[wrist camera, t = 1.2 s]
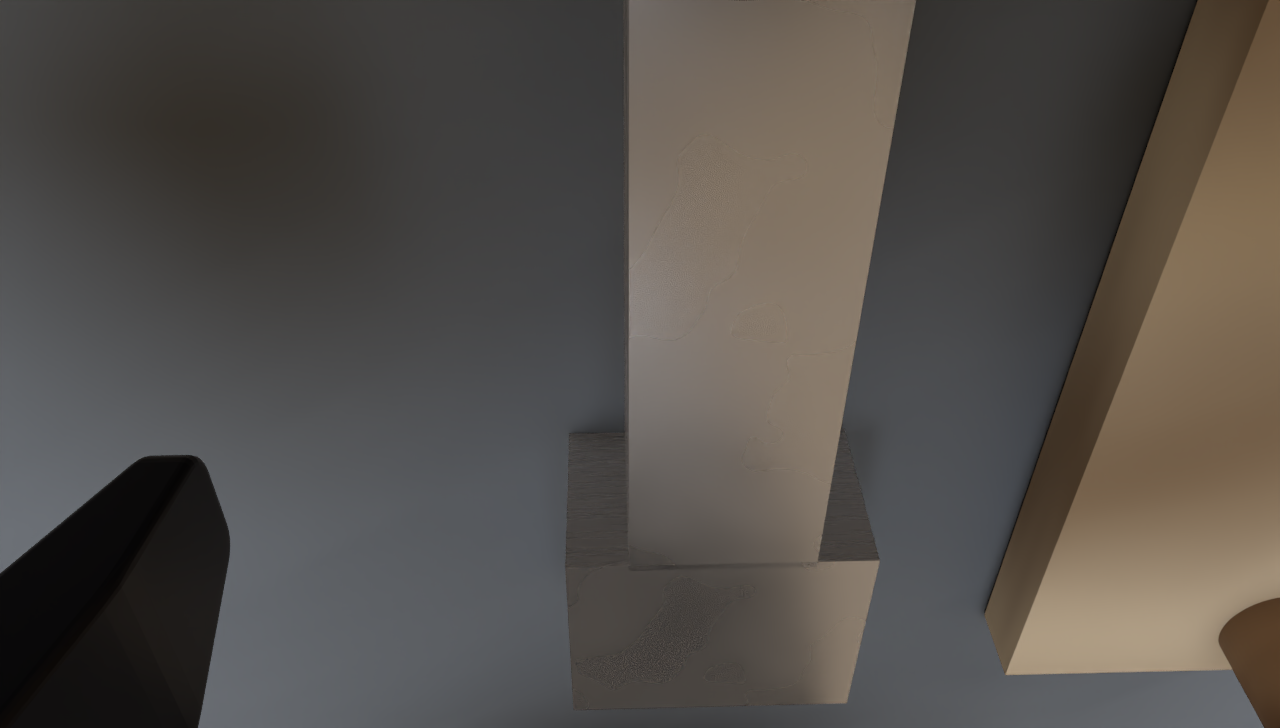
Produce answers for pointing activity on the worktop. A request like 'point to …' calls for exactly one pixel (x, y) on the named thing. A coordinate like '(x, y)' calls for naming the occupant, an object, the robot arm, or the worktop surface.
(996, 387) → the worktop surface
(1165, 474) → the peg board
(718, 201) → the beige stepped post
